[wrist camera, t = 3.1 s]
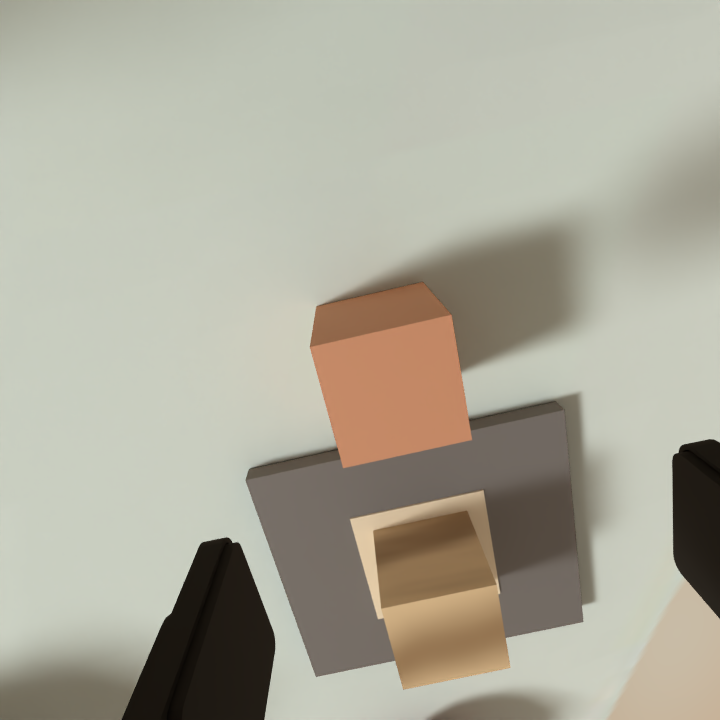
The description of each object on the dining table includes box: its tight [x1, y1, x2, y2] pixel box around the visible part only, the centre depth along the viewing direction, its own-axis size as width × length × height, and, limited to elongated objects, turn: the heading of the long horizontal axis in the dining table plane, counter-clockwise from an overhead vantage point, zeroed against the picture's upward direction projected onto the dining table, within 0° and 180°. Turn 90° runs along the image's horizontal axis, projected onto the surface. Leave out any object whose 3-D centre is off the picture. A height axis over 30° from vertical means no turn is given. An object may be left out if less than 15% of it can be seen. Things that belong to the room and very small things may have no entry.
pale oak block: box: [373, 511, 510, 690], centre depth 24 cm, size 5×5×5 cm
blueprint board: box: [246, 401, 583, 677], centre depth 27 cm, size 14×16×1 cm
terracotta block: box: [310, 282, 472, 468], centre depth 21 cm, size 5×5×6 cm
